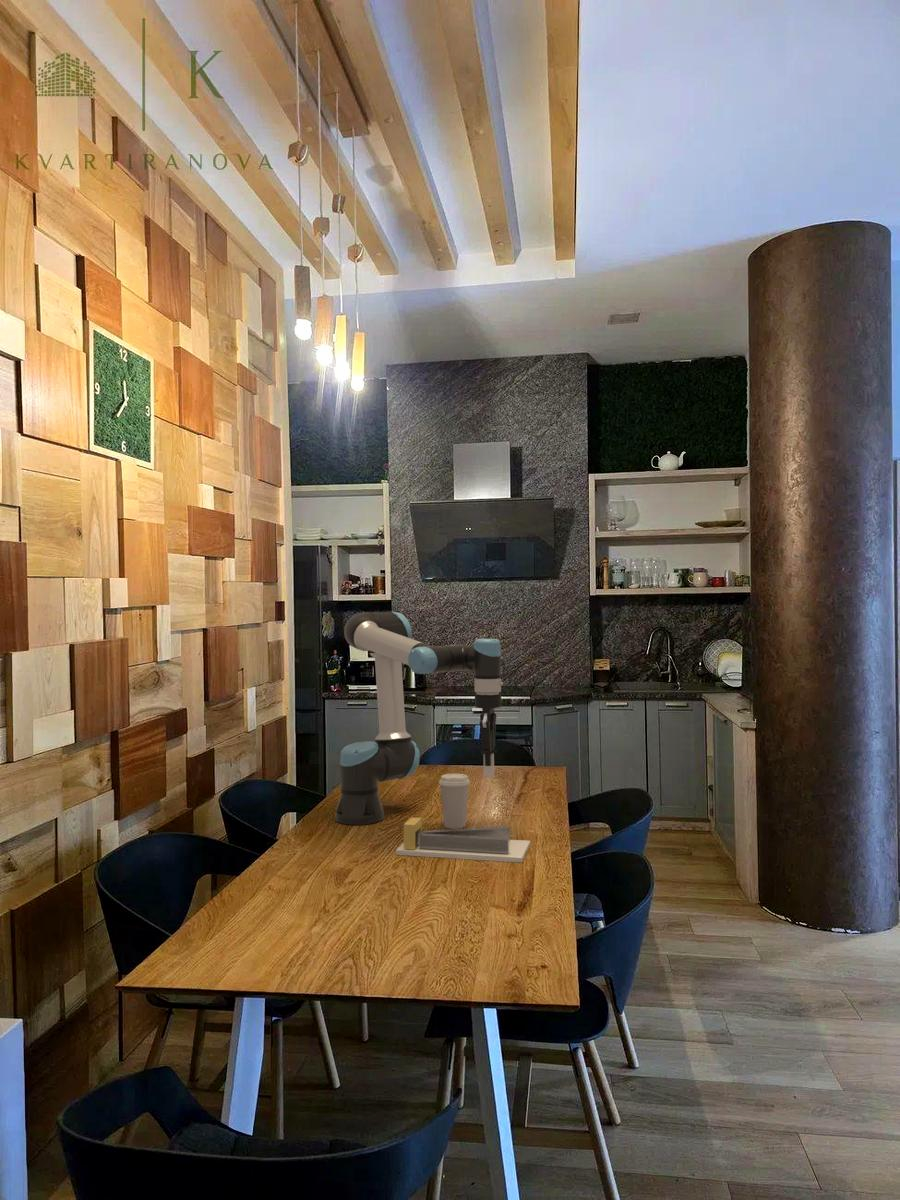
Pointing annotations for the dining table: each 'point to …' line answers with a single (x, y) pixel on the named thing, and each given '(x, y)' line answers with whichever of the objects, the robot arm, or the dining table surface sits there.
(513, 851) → the board
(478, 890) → the dining table surface
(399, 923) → the dining table surface
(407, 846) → the tan boxy piece
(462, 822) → the coffee cup
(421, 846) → the tongs fixed
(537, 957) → the dining table surface
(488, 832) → the tongs jaw
